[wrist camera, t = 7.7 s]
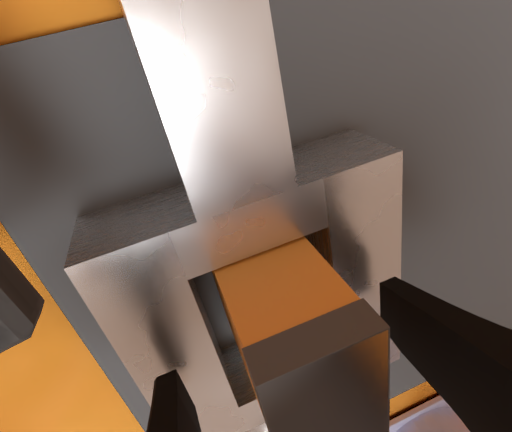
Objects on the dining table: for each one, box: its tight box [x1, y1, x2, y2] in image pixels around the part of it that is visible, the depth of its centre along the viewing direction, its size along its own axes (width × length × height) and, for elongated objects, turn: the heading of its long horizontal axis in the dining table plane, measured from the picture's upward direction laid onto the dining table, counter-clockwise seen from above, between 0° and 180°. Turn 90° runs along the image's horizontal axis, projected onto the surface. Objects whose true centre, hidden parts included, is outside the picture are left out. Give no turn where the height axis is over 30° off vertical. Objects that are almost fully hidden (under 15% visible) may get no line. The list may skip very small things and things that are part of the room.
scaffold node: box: [64, 0, 403, 432], centre depth 14 cm, size 26×10×5 cm, turn 12°
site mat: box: [0, 0, 512, 432], centre depth 17 cm, size 24×24×1 cm
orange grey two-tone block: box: [212, 236, 390, 432], centre depth 11 cm, size 5×3×7 cm, turn 11°
